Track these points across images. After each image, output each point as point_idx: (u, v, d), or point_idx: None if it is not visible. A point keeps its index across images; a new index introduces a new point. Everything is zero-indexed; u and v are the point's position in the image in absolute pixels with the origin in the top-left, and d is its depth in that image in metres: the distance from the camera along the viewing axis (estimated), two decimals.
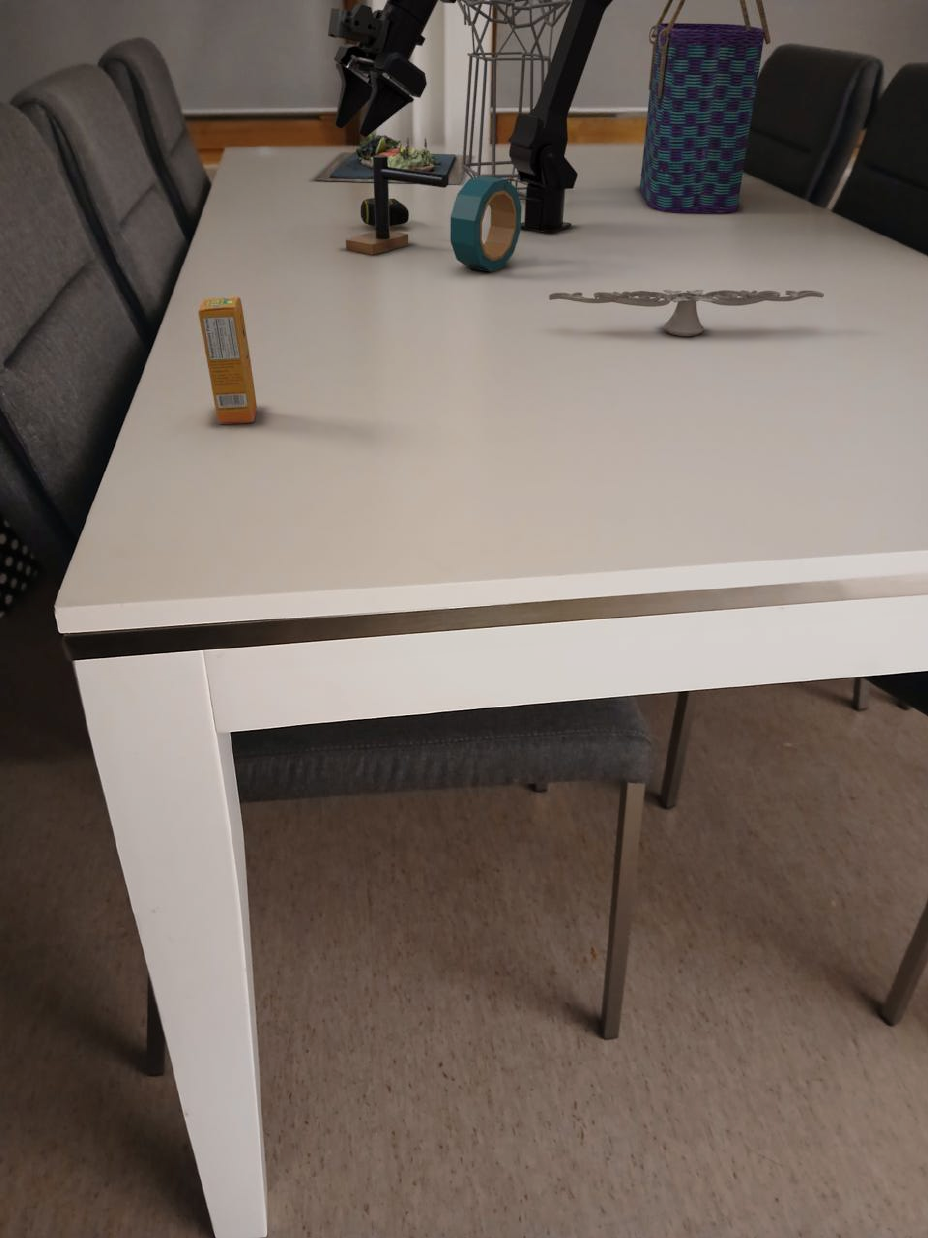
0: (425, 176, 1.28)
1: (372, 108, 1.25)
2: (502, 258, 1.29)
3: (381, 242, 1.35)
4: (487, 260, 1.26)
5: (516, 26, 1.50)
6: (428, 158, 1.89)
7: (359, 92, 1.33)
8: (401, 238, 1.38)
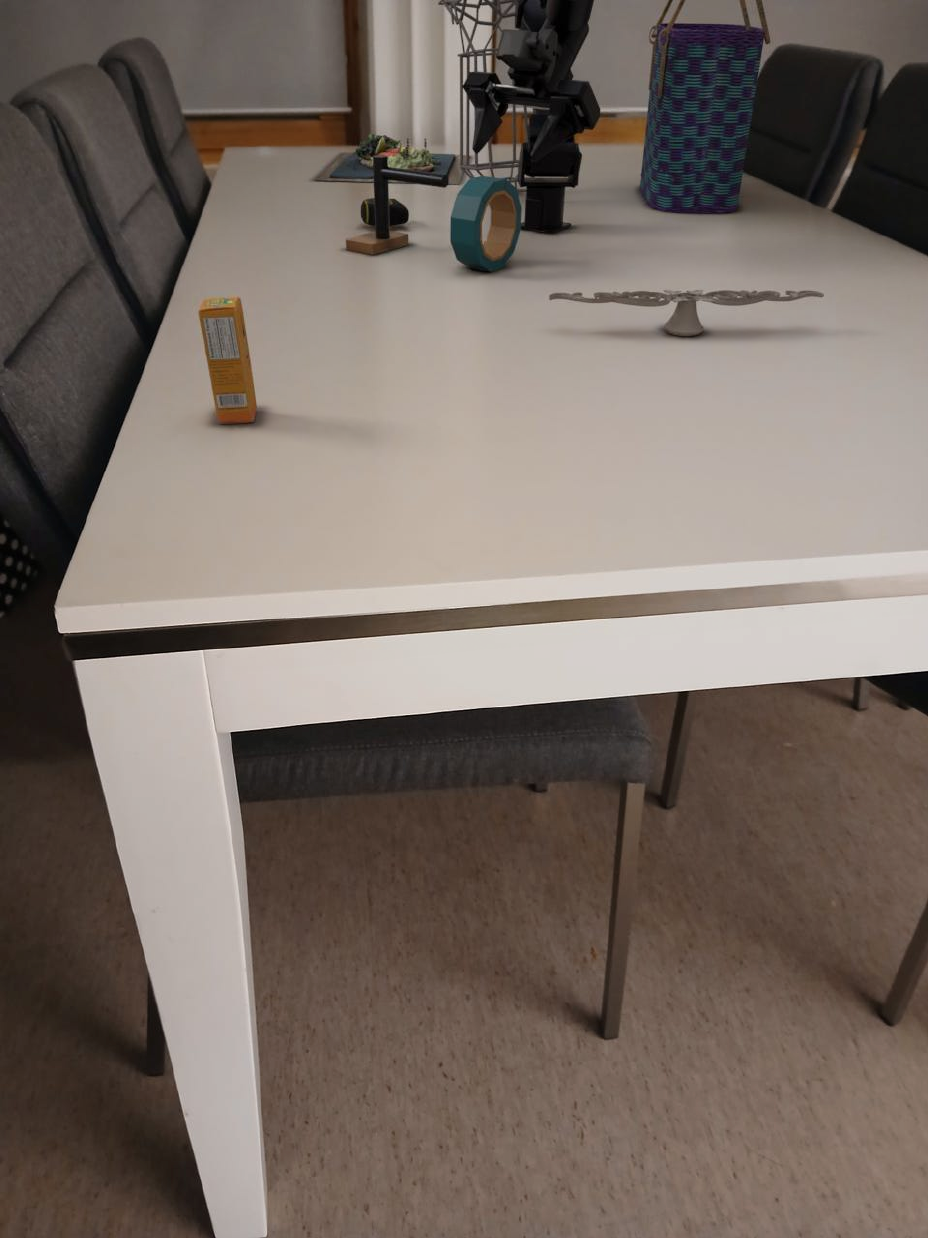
0: (425, 176, 1.28)
1: (549, 133, 1.22)
2: (502, 258, 1.29)
3: (381, 242, 1.35)
4: (487, 260, 1.26)
5: (502, 15, 1.51)
6: (428, 158, 1.89)
7: (492, 120, 1.29)
8: (401, 238, 1.38)
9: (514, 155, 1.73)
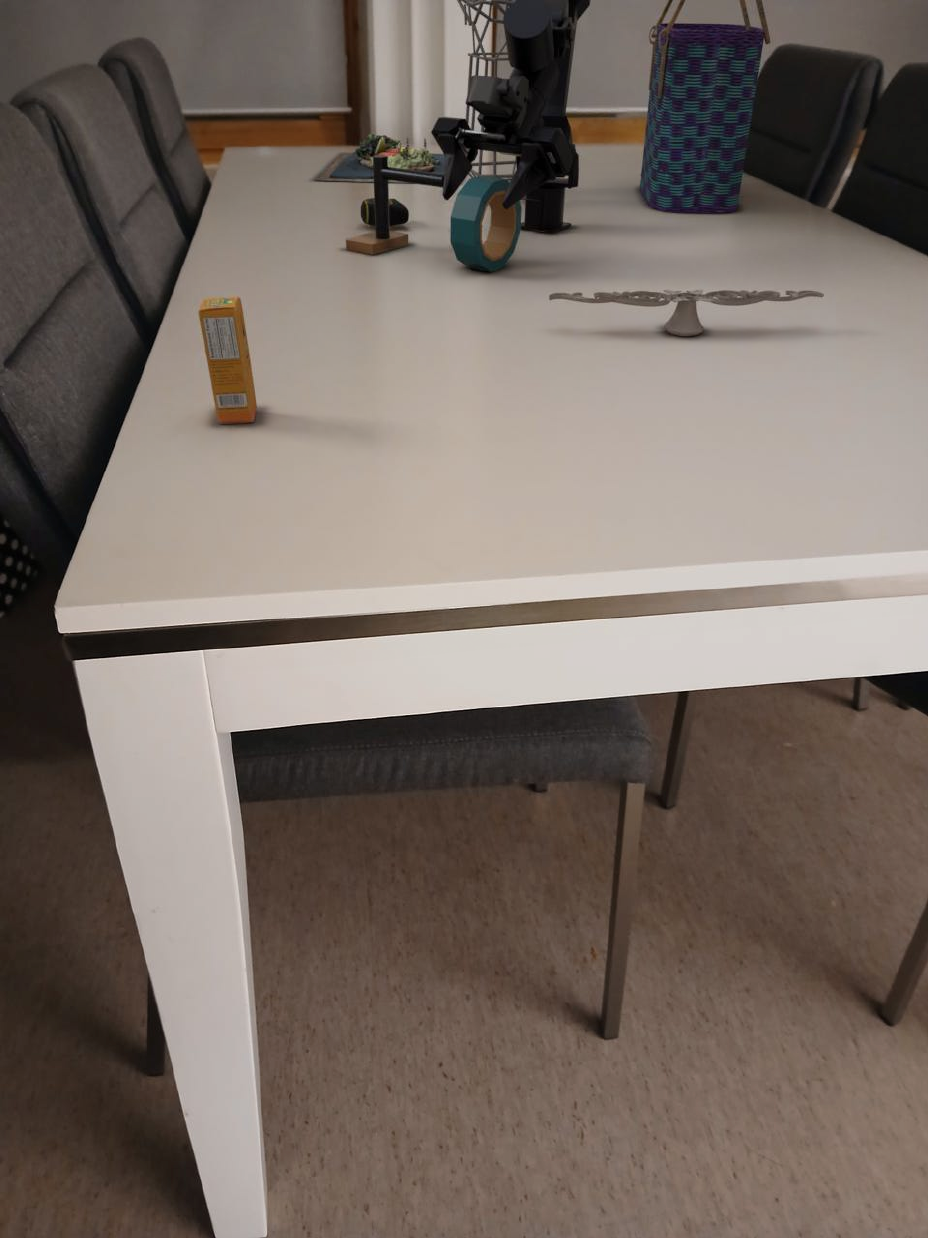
0: (425, 176, 1.28)
1: (521, 180, 1.19)
2: (502, 258, 1.29)
3: (381, 242, 1.35)
4: (487, 260, 1.26)
5: None
6: (428, 158, 1.89)
7: (462, 166, 1.26)
8: (401, 238, 1.38)
9: None
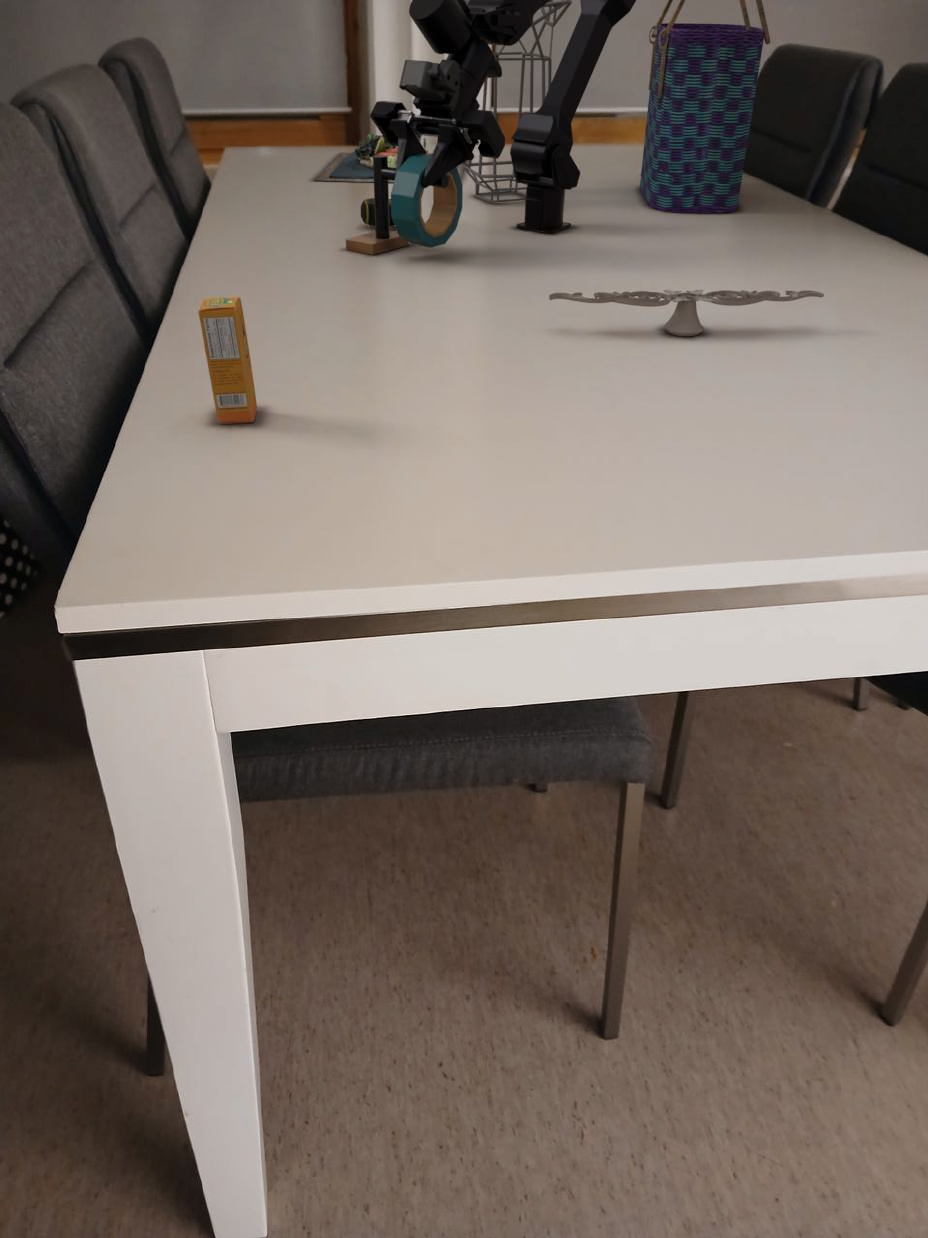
0: None
1: (438, 160, 1.24)
2: (444, 234, 1.32)
3: (381, 242, 1.35)
4: (428, 236, 1.30)
5: None
6: None
7: (415, 151, 1.28)
8: (401, 238, 1.38)
9: None
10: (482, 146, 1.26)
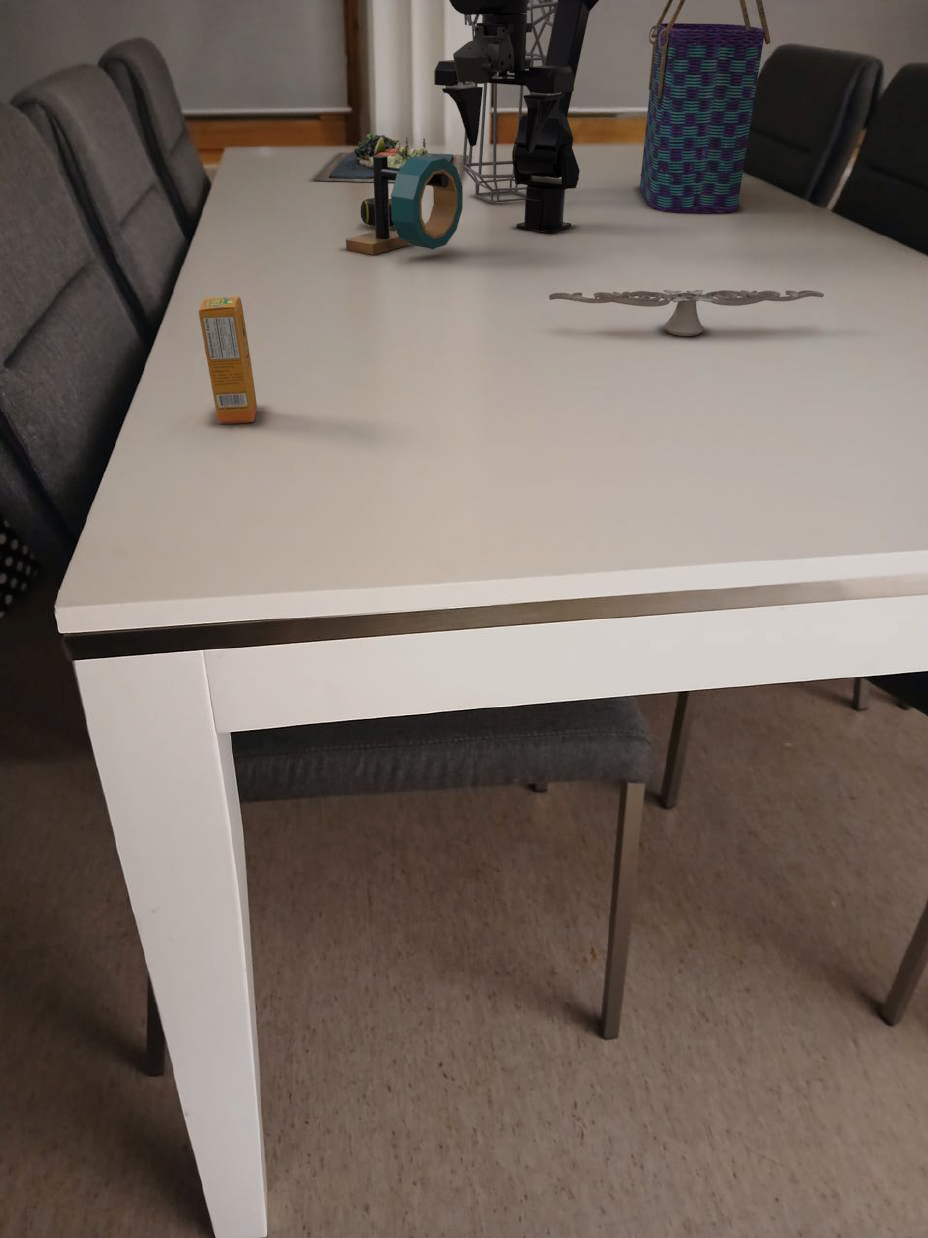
0: None
1: (535, 125, 1.26)
2: (444, 236, 1.32)
3: (381, 242, 1.35)
4: (429, 238, 1.30)
5: None
6: None
7: (474, 101, 1.31)
8: None
9: None
10: None
